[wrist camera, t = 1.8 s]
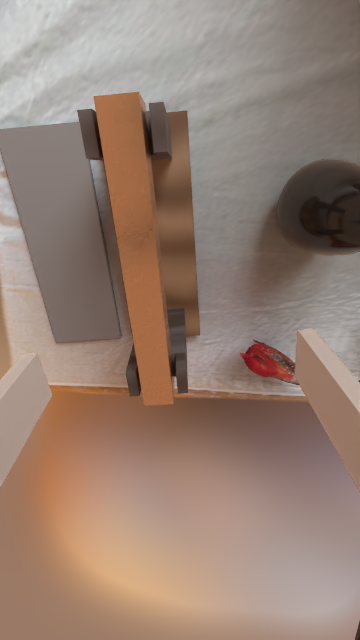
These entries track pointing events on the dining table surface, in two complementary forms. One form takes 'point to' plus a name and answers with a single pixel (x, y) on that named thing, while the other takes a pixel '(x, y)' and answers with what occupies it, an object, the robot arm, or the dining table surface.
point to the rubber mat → (62, 228)
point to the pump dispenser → (322, 208)
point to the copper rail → (138, 238)
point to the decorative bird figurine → (270, 363)
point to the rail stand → (165, 227)
